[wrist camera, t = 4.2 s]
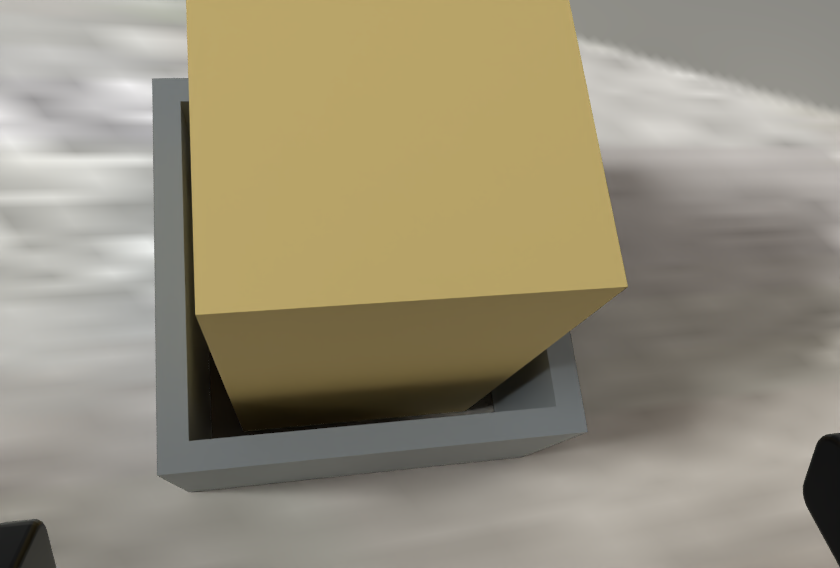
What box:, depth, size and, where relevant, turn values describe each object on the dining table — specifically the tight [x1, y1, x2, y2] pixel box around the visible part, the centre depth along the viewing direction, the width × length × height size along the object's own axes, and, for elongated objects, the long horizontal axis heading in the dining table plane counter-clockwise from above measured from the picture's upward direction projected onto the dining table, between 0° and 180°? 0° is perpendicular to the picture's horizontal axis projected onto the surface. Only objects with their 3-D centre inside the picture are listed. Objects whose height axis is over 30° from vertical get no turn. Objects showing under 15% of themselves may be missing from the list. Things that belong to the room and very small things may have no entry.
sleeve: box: [152, 78, 588, 492], centre depth 19 cm, size 9×9×5 cm
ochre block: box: [186, 0, 628, 432], centre depth 17 cm, size 6×6×11 cm
